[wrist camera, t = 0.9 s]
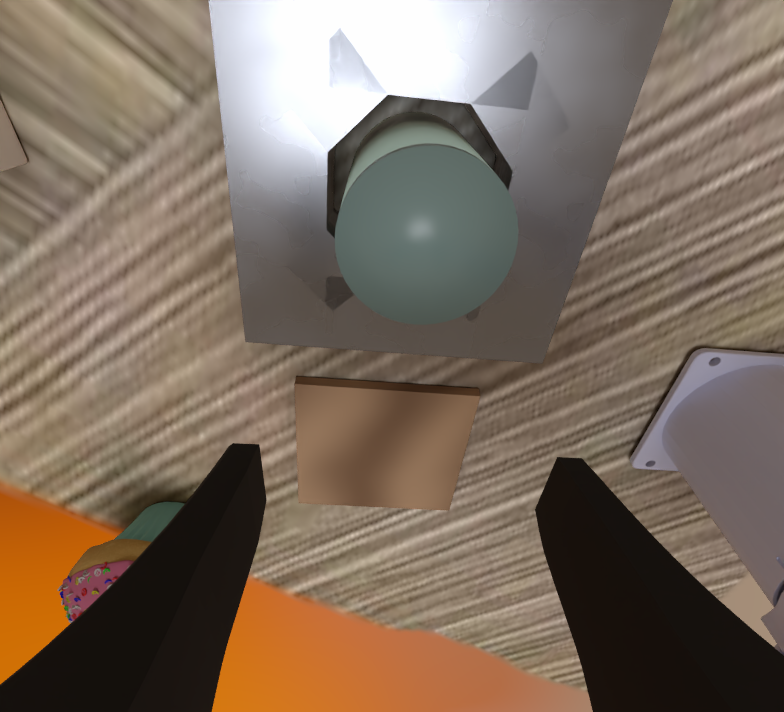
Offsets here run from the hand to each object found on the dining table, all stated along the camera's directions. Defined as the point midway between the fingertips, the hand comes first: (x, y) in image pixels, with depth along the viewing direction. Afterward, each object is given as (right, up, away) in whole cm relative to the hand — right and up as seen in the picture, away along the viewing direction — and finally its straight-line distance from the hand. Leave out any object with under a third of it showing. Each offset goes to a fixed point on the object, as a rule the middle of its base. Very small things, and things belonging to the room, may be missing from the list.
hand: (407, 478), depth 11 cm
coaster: (-1, -2, +13) cm, 14 cm away
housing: (0, +9, +5) cm, 11 cm away
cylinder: (0, +9, +6) cm, 11 cm away
